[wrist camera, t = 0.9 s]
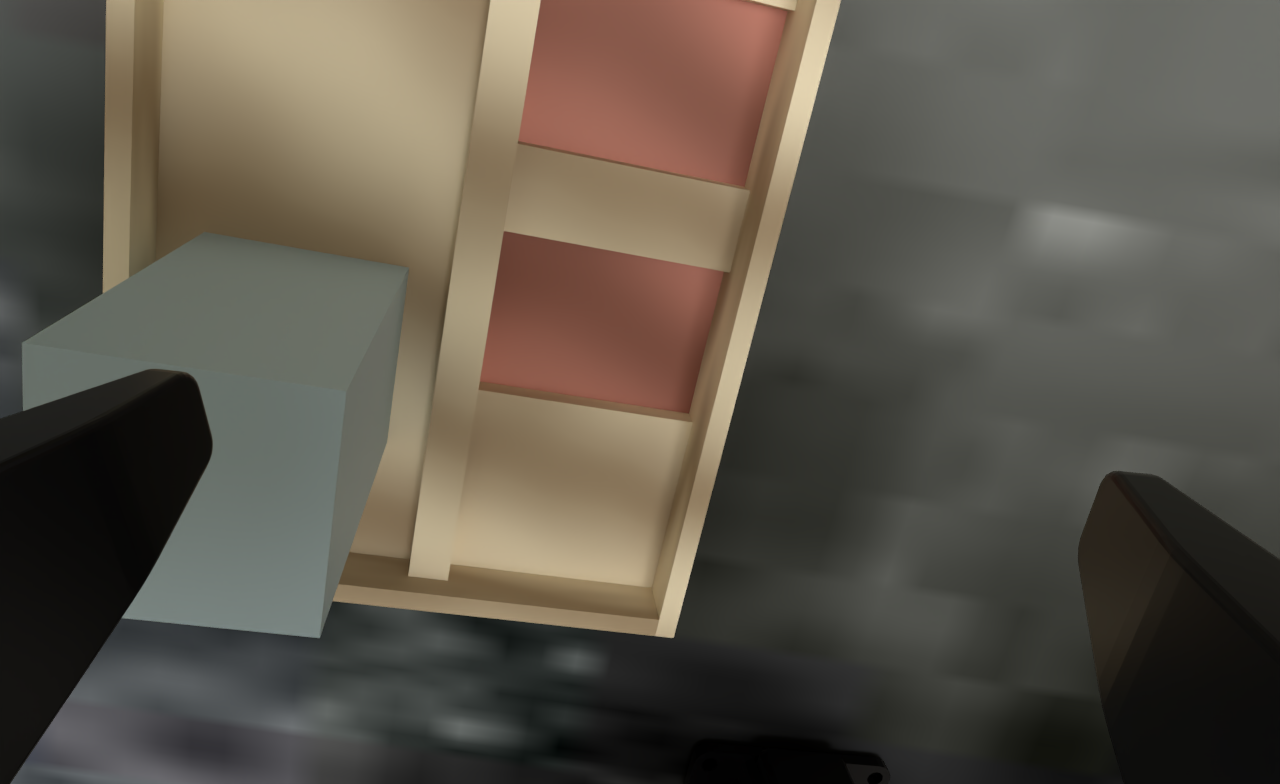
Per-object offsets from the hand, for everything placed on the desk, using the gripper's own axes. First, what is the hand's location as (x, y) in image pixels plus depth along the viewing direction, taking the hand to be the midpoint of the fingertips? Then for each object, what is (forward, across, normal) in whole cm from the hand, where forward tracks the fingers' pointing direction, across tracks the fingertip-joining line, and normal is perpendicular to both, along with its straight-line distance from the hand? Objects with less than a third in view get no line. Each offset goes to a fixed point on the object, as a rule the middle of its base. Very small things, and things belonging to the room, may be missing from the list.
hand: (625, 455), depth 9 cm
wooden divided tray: (+13, +6, +2) cm, 14 cm away
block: (+10, +9, +5) cm, 15 cm away
